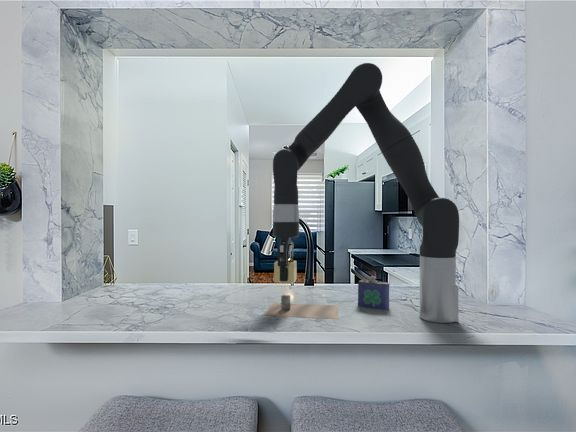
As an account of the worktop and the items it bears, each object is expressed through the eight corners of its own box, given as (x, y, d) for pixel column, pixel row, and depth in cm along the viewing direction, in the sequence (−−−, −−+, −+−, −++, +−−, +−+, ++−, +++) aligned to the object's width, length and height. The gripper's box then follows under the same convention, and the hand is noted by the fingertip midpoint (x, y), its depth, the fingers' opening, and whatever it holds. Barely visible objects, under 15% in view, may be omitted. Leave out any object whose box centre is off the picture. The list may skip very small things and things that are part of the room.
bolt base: (338, 310, 105) (338, 292, 105) (338, 324, 91) (338, 303, 91) (273, 307, 108) (273, 290, 108) (263, 321, 94) (263, 300, 94)
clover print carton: (390, 313, 102) (389, 276, 102) (388, 315, 100) (387, 278, 100) (359, 309, 106) (359, 274, 106) (356, 311, 104) (356, 275, 104)
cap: (296, 279, 102) (296, 259, 102) (293, 283, 97) (294, 261, 97) (277, 279, 103) (277, 259, 103) (274, 282, 98) (274, 261, 98)
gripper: (295, 220, 93) (295, 284, 92) (301, 220, 107) (301, 275, 107) (267, 220, 94) (267, 283, 94) (277, 220, 108) (277, 274, 108)
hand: (285, 279), depth 100 cm, fingers closed on cap, 5 cm apart
